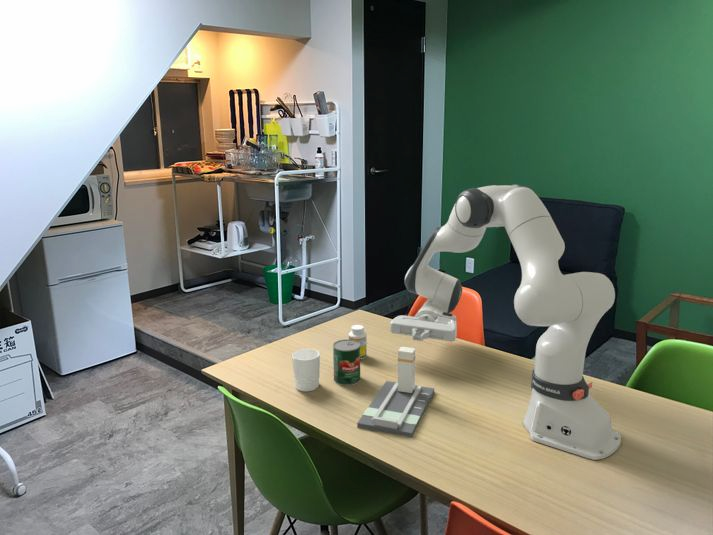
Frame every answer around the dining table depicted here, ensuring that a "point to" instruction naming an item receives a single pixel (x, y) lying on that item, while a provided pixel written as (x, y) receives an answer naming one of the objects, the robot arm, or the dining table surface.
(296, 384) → the white cup
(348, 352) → the canned tomato
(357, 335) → the supplement bottle
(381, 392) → the grey slider track base
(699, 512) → the dining table surface
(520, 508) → the dining table surface
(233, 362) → the dining table surface
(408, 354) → the fader
